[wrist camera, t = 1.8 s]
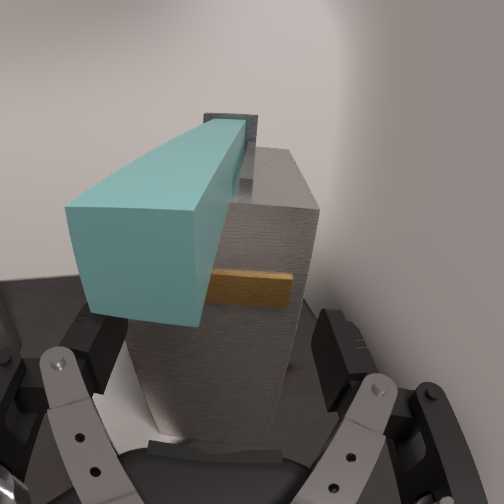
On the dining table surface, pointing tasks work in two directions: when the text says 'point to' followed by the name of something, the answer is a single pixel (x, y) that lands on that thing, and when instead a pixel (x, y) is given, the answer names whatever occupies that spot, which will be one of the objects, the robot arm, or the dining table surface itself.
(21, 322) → the dining table surface
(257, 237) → the tall grey box
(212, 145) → the teal tapered block
